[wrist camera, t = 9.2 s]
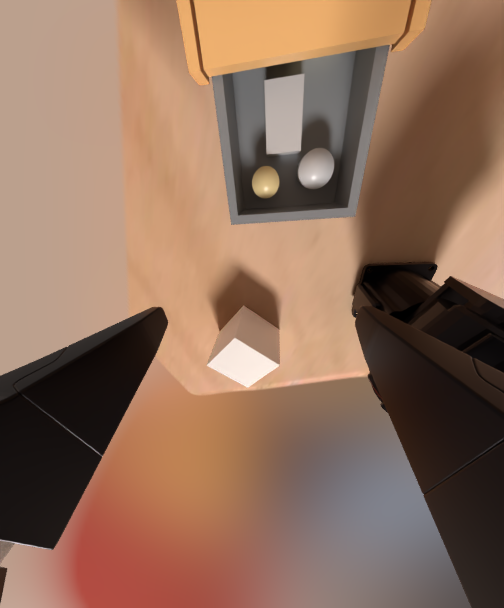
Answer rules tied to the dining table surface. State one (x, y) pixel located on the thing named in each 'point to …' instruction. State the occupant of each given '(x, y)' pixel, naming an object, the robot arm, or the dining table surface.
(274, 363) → the white cube
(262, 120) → the tub
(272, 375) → the dining table surface
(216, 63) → the lid
